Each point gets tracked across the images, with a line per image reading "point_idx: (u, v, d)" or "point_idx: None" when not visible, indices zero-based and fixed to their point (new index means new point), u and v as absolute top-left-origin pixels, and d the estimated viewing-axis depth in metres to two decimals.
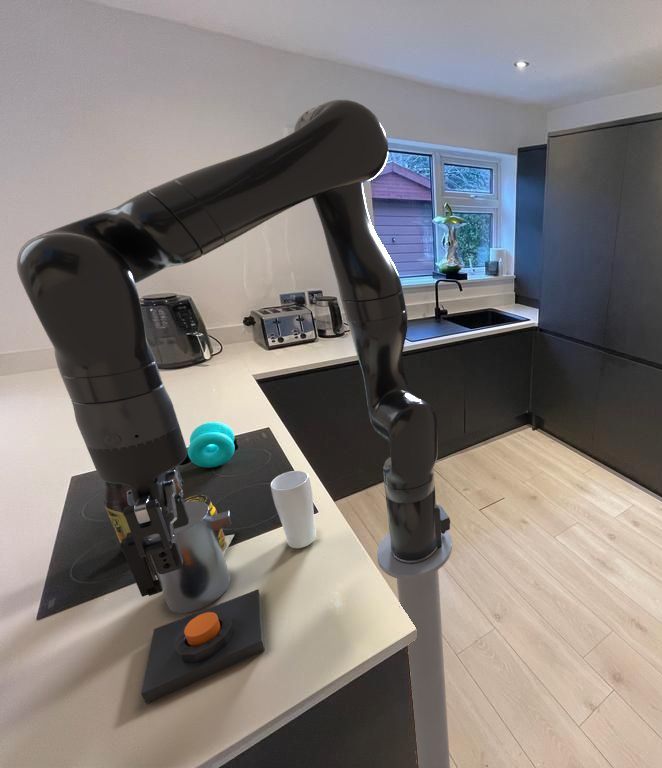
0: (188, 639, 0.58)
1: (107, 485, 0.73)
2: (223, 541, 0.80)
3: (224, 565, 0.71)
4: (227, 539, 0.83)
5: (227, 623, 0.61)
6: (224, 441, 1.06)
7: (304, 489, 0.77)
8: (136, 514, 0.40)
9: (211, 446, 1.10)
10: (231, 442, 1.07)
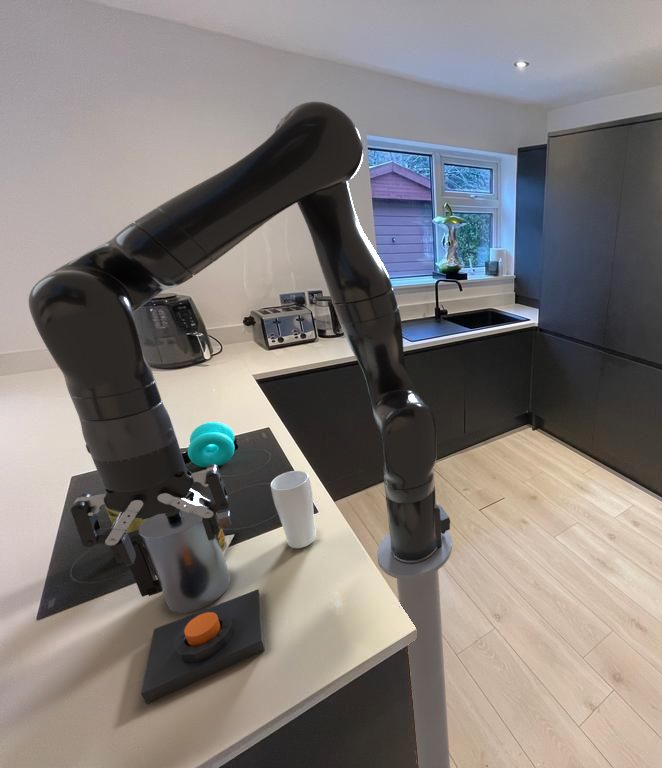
0: (188, 639, 0.58)
1: None
2: (223, 541, 0.80)
3: (224, 565, 0.71)
4: (227, 538, 0.83)
5: (227, 623, 0.61)
6: (224, 441, 1.06)
7: (304, 489, 0.77)
8: (217, 473, 0.53)
9: (211, 446, 1.10)
10: (231, 442, 1.07)
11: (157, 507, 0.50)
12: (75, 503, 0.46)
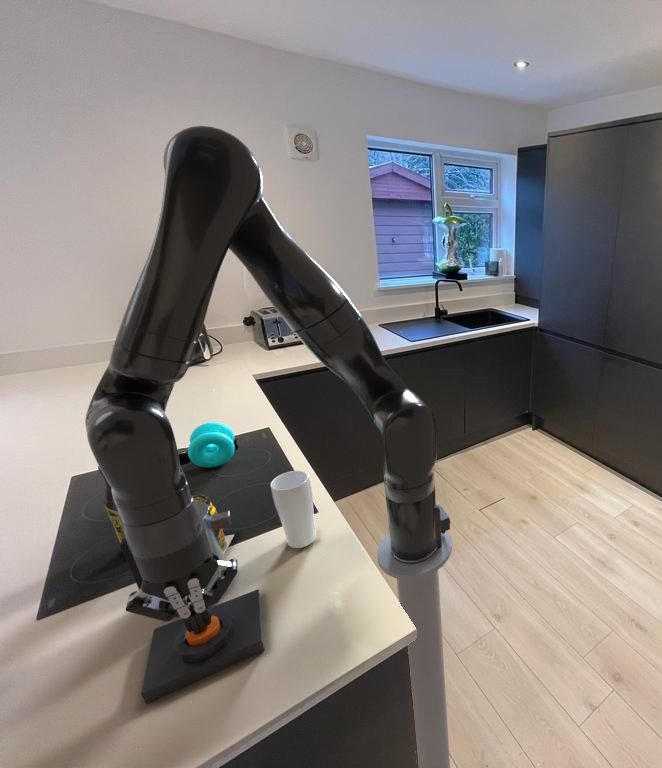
0: (189, 642, 0.58)
1: (107, 485, 0.73)
2: (223, 541, 0.80)
3: None
4: (227, 539, 0.83)
5: (227, 623, 0.61)
6: (224, 441, 1.06)
7: (304, 489, 0.77)
8: None
9: (211, 446, 1.10)
10: (231, 442, 1.07)
11: (187, 590, 0.56)
12: None
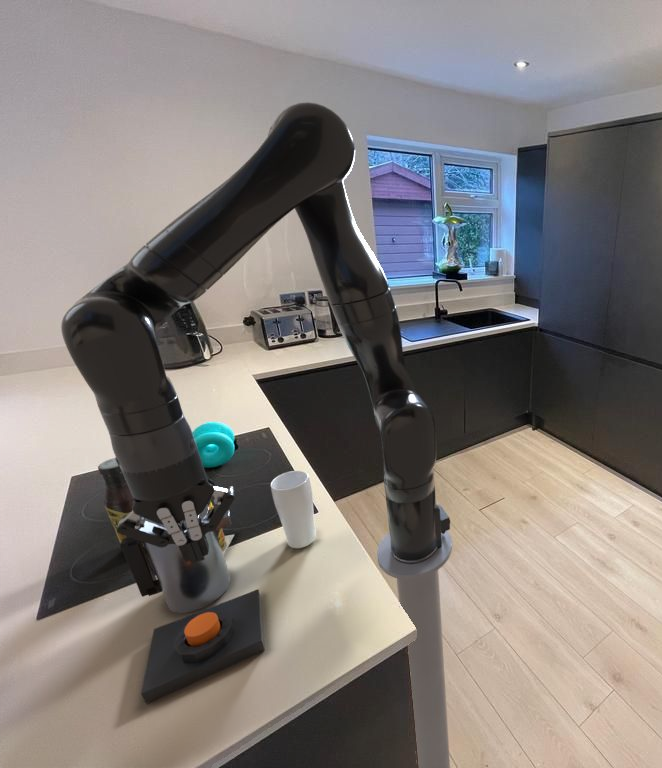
0: (188, 639, 0.58)
1: (107, 485, 0.73)
2: (223, 541, 0.80)
3: (224, 565, 0.71)
4: (227, 538, 0.83)
5: (227, 623, 0.61)
6: (224, 441, 1.06)
7: (304, 489, 0.77)
8: None
9: (211, 446, 1.10)
10: (231, 442, 1.07)
11: (181, 514, 0.53)
12: None
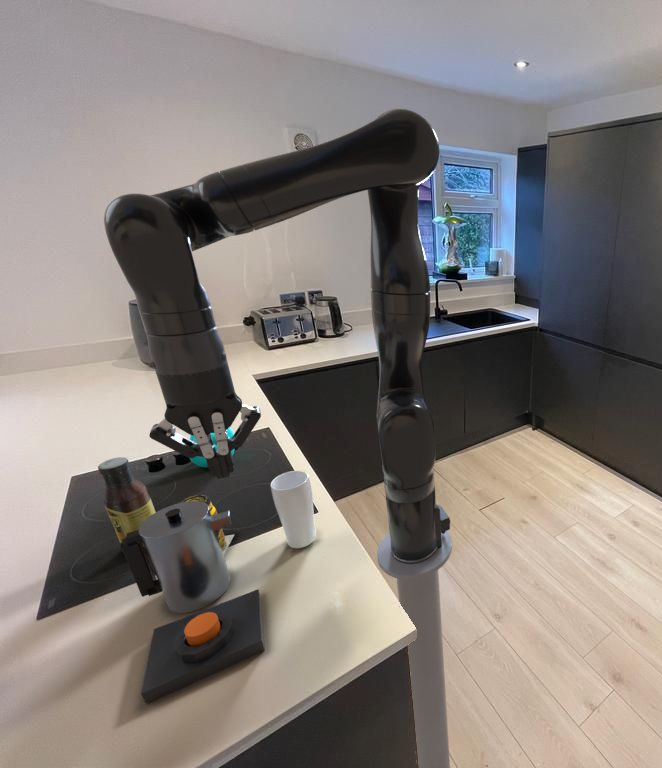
0: (188, 639, 0.58)
1: (107, 485, 0.73)
2: (223, 541, 0.80)
3: (224, 565, 0.71)
4: (227, 539, 0.83)
5: (227, 623, 0.61)
6: None
7: (304, 489, 0.77)
8: None
9: None
10: None
11: (210, 426, 0.54)
12: (150, 432, 0.51)
